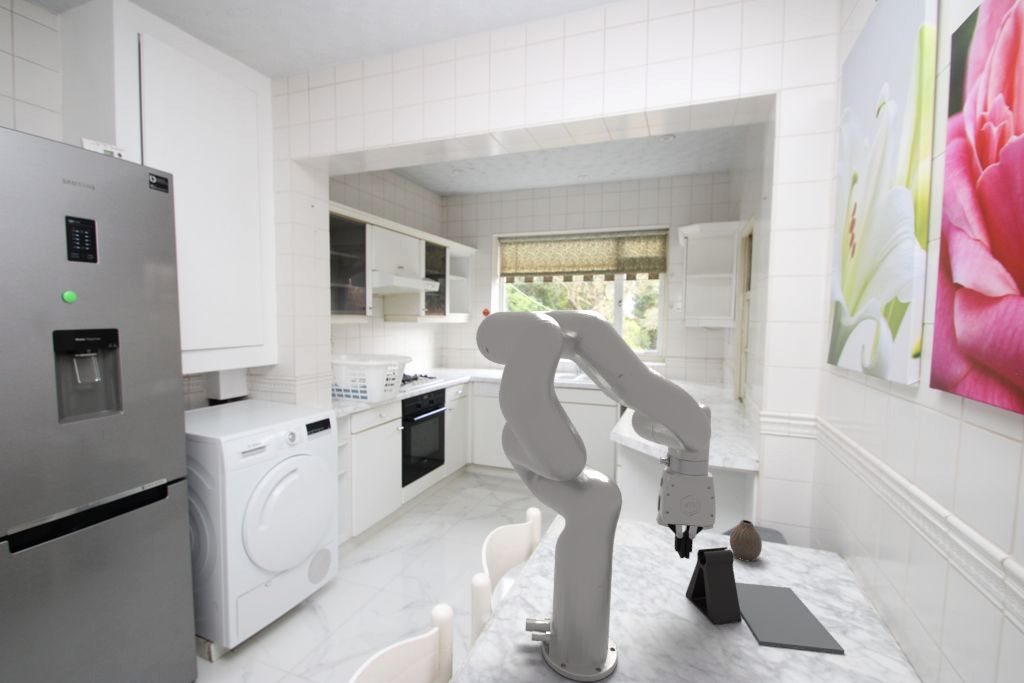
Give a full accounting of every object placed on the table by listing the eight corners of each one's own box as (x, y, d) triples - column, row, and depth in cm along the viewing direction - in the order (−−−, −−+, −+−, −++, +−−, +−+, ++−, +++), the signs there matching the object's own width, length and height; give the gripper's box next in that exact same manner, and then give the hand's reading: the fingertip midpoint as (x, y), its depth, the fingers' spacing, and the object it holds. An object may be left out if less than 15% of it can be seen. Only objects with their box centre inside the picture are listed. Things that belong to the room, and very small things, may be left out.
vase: (765, 566, 103) (767, 530, 102) (733, 562, 104) (736, 526, 104) (755, 551, 110) (757, 517, 109) (725, 547, 111) (727, 514, 110)
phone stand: (741, 622, 83) (745, 560, 82) (713, 625, 82) (717, 563, 81) (710, 593, 92) (714, 537, 91) (685, 595, 90) (688, 539, 90)
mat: (759, 644, 77) (759, 641, 77) (721, 583, 95) (721, 581, 95) (844, 653, 76) (844, 650, 76) (789, 590, 93) (789, 587, 93)
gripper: (652, 468, 83) (648, 562, 84) (734, 473, 82) (729, 568, 82) (645, 456, 90) (640, 542, 91) (719, 461, 89) (714, 548, 90)
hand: (682, 554), depth 87 cm, fingers closed
